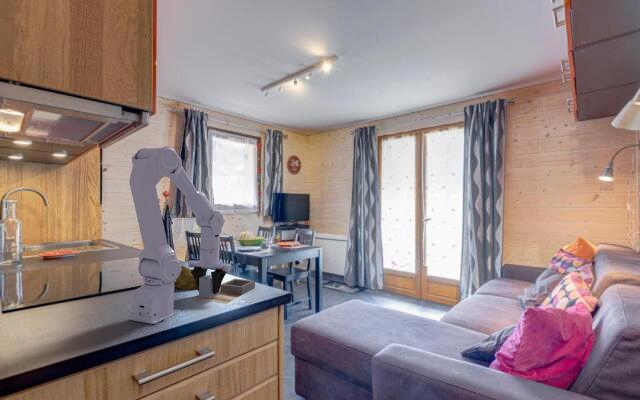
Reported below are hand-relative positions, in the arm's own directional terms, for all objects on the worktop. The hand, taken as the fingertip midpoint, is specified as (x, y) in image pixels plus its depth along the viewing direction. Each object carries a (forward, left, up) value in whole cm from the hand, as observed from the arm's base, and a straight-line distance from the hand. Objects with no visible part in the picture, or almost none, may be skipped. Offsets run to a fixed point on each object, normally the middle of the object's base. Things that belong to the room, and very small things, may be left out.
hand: (208, 292), depth 100 cm
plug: (0, 0, -1) cm, 1 cm away
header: (+9, -5, -2) cm, 10 cm away
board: (+5, -3, -2) cm, 6 cm away
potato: (+5, +13, -2) cm, 14 cm away
